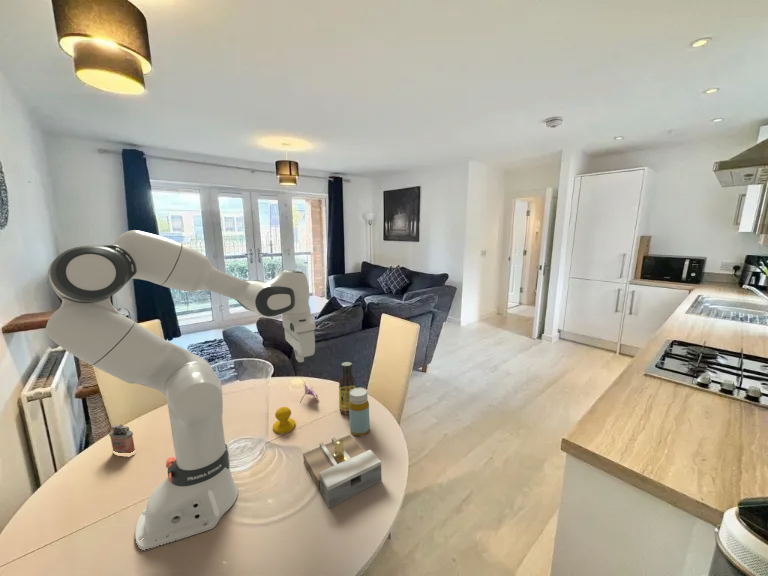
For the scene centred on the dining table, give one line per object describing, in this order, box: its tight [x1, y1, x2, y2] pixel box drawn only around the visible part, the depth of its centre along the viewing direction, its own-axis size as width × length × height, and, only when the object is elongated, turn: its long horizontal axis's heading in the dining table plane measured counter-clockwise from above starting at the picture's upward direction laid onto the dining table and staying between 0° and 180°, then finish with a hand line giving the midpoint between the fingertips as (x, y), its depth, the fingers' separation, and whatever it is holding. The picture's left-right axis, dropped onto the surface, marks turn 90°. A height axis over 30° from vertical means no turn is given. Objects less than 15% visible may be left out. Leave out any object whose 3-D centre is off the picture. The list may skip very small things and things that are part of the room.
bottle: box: [348, 387, 371, 437], centre depth 111 cm, size 7×7×15 cm
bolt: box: [334, 438, 347, 464], centre depth 90 cm, size 9×3×6 cm, turn 33°
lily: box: [299, 378, 318, 404], centre depth 133 cm, size 12×12×10 cm
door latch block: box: [302, 434, 383, 509], centre depth 92 cm, size 20×16×6 cm
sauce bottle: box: [338, 361, 356, 415], centre depth 123 cm, size 7×6×20 cm
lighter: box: [108, 423, 136, 453], centre depth 102 cm, size 8×3×10 cm, turn 76°
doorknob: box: [272, 406, 297, 435], centre depth 115 cm, size 8×8×8 cm
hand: (299, 360), depth 102 cm, fingers closed
